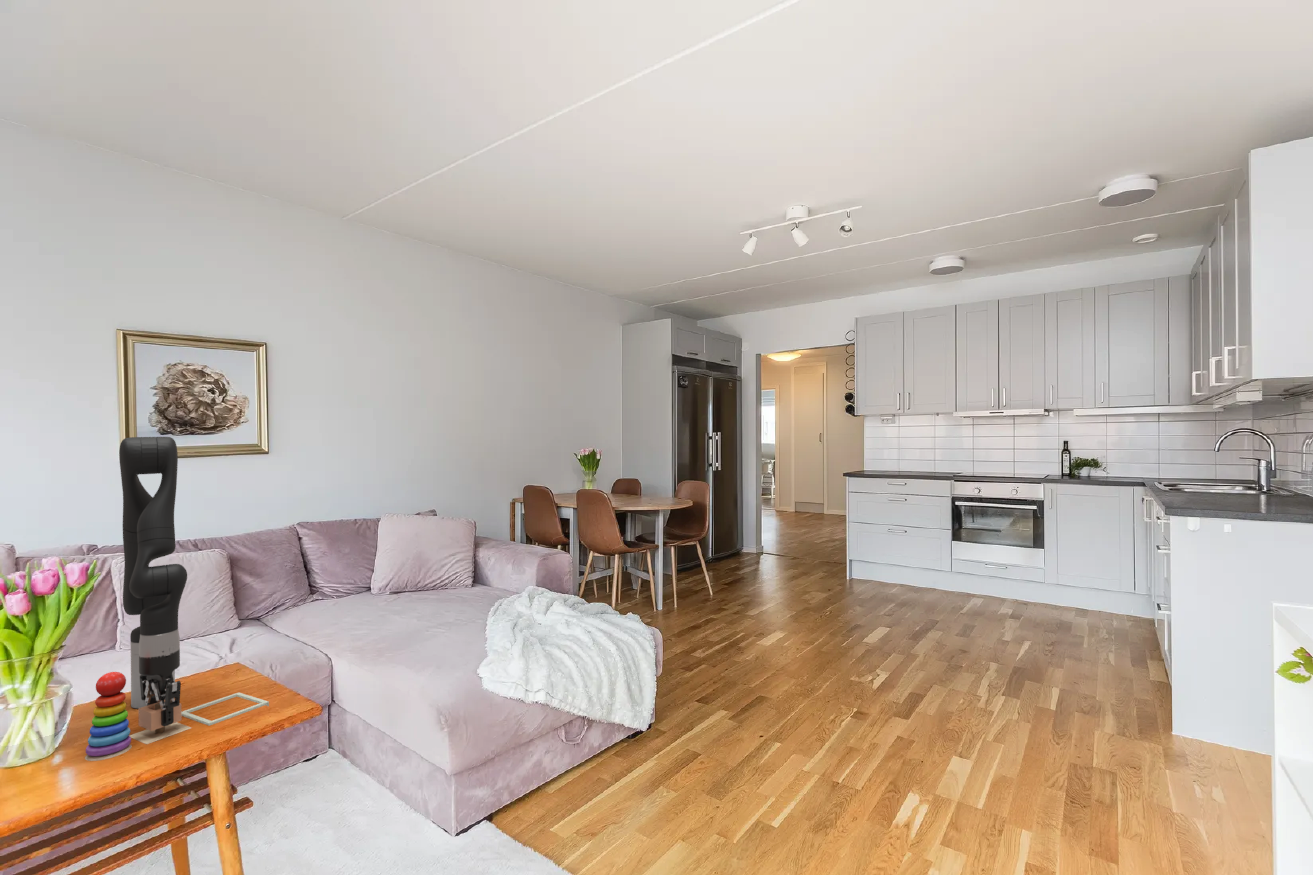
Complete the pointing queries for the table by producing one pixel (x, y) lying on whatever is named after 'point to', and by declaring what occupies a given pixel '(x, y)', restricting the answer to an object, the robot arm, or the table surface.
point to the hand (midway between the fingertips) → (160, 721)
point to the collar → (155, 716)
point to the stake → (159, 731)
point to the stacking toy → (109, 720)
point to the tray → (208, 722)
